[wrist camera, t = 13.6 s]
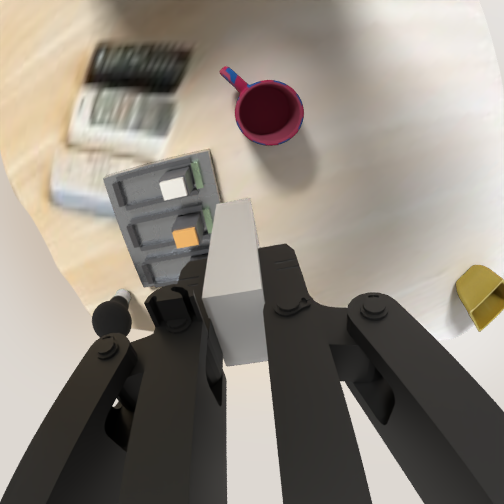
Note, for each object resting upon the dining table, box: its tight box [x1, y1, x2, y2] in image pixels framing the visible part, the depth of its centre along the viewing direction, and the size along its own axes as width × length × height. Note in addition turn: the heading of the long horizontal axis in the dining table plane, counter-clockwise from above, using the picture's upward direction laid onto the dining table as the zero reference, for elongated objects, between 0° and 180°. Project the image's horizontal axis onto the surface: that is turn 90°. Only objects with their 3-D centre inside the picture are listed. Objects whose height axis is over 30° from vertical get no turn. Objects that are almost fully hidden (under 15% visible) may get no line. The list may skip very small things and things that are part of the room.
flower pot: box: [456, 265, 504, 332], centre depth 44 cm, size 9×9×9 cm
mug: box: [220, 66, 304, 146], centre depth 29 cm, size 7×10×7 cm
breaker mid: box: [171, 212, 204, 249], centre depth 36 cm, size 2×3×4 cm
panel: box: [103, 149, 221, 287], centre depth 38 cm, size 17×14×2 cm
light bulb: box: [92, 289, 132, 338], centre depth 40 cm, size 6×6×10 cm
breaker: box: [159, 166, 194, 201], centre depth 33 cm, size 2×3×4 cm
